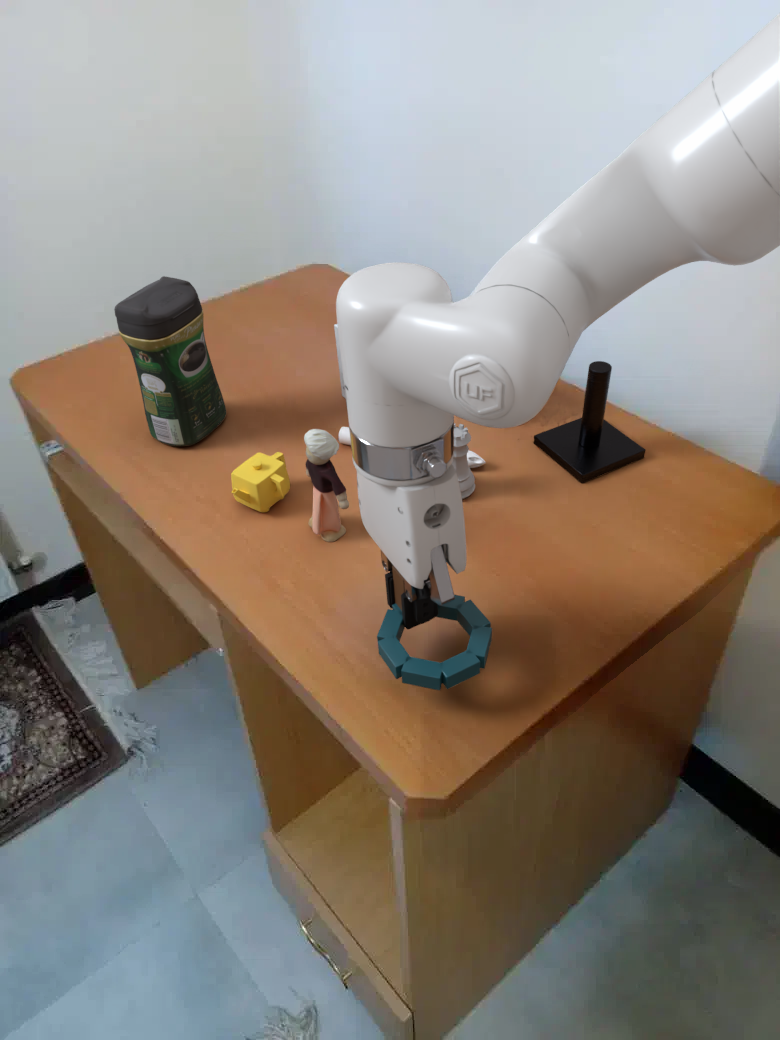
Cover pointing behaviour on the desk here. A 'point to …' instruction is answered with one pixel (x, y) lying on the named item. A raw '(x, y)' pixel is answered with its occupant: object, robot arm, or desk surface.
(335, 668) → the desk surface
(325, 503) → the grandmother figurine
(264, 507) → the teapot
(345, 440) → the marker
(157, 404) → the coffee jar
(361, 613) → the desk surface
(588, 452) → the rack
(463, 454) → the rook chess piece
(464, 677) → the teal segmented ring
